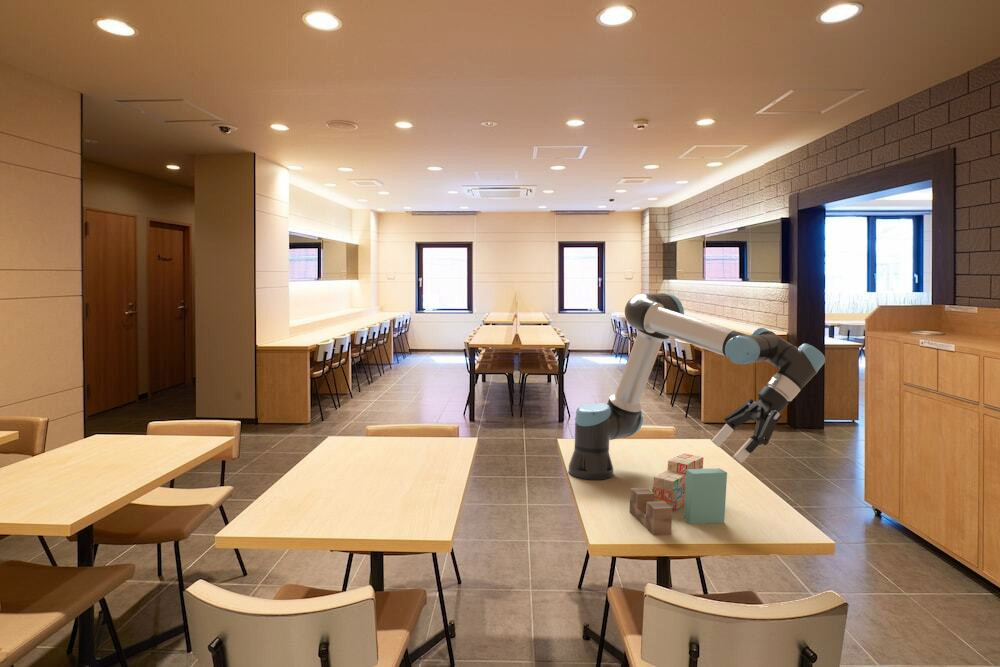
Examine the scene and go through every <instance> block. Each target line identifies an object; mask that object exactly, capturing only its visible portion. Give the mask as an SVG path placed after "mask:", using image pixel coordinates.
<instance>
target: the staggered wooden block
mask: <svg viewBox="0 0 1000 667" xmlns="http://www.w3.org/2000/svg"><path fill="white" fill-rule="evenodd" d="M654 496H655V493H653V490H651V489H649V488H648V487H631V488H630V494H629V513H630V514H631V515H632V516H633V517H634V518H635V519H636V520H637V521H638V522H639V523H640V524H641V525H642V526H643V527H644V526H645V527H646V528H647V529H648V530H647V529H646V528H645V527H644V528H645V529H646V530H647V531H649V533H650V534H651V535H653V536H658V535H659V536H660V535H662V536H663V535H671V534H672V526H673V525H672V524H673V511H672V507H671V506H669V505H668V504H667V503H666V502H664V501H656V502H654Z"/></svg>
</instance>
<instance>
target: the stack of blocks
mask: <svg viewBox="0 0 1000 667" xmlns="http://www.w3.org/2000/svg"><path fill="white" fill-rule="evenodd" d="M686 469H704V457H703V456H699V455H695V454H689V453H682V454H678V455H676V456H675V457H674V456H673V458H670V459H668V460H667V469H666V471H663V472H661V473H658V474H657V475H655V476H653V487H652V492H653V493H655V496H654V502H656V501H664V502H666V503H667V504H668V505H669V506H671V507H672V512H674V511H676V510H678V509H679V508H682V507H684V501H685V482H686Z"/></svg>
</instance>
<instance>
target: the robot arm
mask: <svg viewBox="0 0 1000 667" xmlns="http://www.w3.org/2000/svg"><path fill="white" fill-rule="evenodd" d="M684 309H685V308H684V306H683V304H682V302H681V300H680V299H679V298H678V297H676V296H675V295H673V294H670V293H665V292H661V293H646V292H645V293H638V294H635V295H634V296H632V297H631V298H629V300H628V301H627V302H626V304H625V307H624V317H625V319H626V322H627V323H628V324H629V325H630V326H631V327H633V328H634V329H635V330H636V332H637V334H636V336H635V340H634V342H633V345H632V348H631V351H630V353H629V356H628V359H627V361H626V363H625V364H626V365H625V367H624V370H623V372H622V375H621V378H620V381H619V384H618V387H617V388H616V391H615V393H613V394H611V395H610V396H609V398H608V401H607V403H603V402H593V403H592V402H591V403H584V404H582V405H580V406H578V407H577V409H576V411H575V417H574V422H575V423H574V449H573V450H574V451H573V452H572V456H571V458H570V461H569V463H568V474H570V475H571V476H573V477H575V478H579V479H584V480H589V481H590V480H599V481H600V480H606V479H610V478H612V477H614V465H613V463H612V459H611V455H610V441H612V440H618V439H623V438H627V437H628V438H629V437H631V436H632V435H635V434H636V433H638V432H639V431H640V430H641V428H642V426H643V423H644V417H643V416H642V415H643V412H642V409H643V407H642V405H641V403H640V401H641V398H642V395H643V394H644V391H645V389H646V386H647V383H648V380H649V378H650V375H651V374H652V370H653V367H654V365H655V362H656V360H657V357H658V354H659V353H660V352H659V351H660V350H661V347H662V345H663V342H665V341H667V340H669V339H670V338H673V339H676V340H679V341H681V342H684V343H687V344H690V345H693V346H696V347H699V348H702V349H703V350H706V351H710V352H713V353H715V354H717V355H721V356H724V357H727V358H728V360H730V362H732V363H733V364H736V365H750V364H754V363H764V362H767V363H769V364H770V365H772V366H773V367H775V368H777V369H779V370H778V371H777V372H776V373H775V374H773V376H772V377H771V379H770V380H769V381H768V382H767V385H764V386H763V387H762V388H761V390H760V391H758V393H757V398H758V400H756V401H755V400H754V399H753V398H749V399H748V400H747V401H746V402H745V403H744V404H742V405H741V406H740V407H738V408H737V409H735V410H734V411H732V412H731V413H729V414H728V415H726V416H725V417H724V419H723V420H724V421H725V424H724V425H723V427H722V428H720V430H719V431H718V432H717V433H716V434H715V435H714V437H713V438H712V439H711V440H710V442H712V443H713V444H714V445H715V446H716V447H718V448H720V446H722V444H723V443H724V442H725V441H726V440H727V439H728V437H729V436H730V435H731V434H732V433H733V432H734V431H735V429H736V427H738V426H741V425H743V424H744V423H747V422H749V421H756V422H755V423H756V424H755V427H754V431H753V435H751V436H750V437H749V438H748V439H747V440H746V441H745V442H744V444H743V445H741V446H740V448H739V449H737V451H736V452H735V454H734V455H733V458H734V459H736V460H737V461H738V462H739V463H741V464H743V463H744V461H745V460H747V458H748V457H749V456H750V454H752V453H753V452H754V451H755V450H756V448H758V447H759V446H761V445H763V446H767V445H768V444H769V442H770V439H771V437H772V435H773V433H774V430H775V428H776V426H777V424H778V422H779V421H780V420H781V418H782V417H783V416H782V414H781V413H782V412H783V411H784V410H785V409H786V407H788V405H789V402H792V401H793V399H795V398H796V397H797V396H798V394H799V393H800V392H801V390H803V388H804V387H805V386H806V385H807V384H808V383H809V382H810V381H811V380H812V379H813V377H814V376H816V375H817V373H818V372H819V370H820V369H821V368H822V366H823V365H824V364H825V363H826V356H825V355H824V353H823V352H821V351H820V350H819V349H818V348H816V347H815V346H813V345H811V344H809V343H802V344H801V345H799V346H798V347H797V346H796V345H794V344H792V343H790V342H788V341H787V340H785V339H784V338H782V337H781V336H779V335H777V334H776V333H775V331H774V332H773V331H772V330H769V329H767V328H765V327H759V328H757V329H755V330H753V331H752V332H751V333H750V334H747V333H744V332H740V331H736V330H734V329H731V328H727V327H724V326H720V325H718V324H715V323H712V322H709V321H705V320H702V319H700V318H696V317H694V316H689V315H686V314H685V310H684Z"/></svg>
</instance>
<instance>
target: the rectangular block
mask: <svg viewBox="0 0 1000 667" xmlns="http://www.w3.org/2000/svg"><path fill="white" fill-rule="evenodd" d="M727 479H728V472H727V471H725V470H723V469H722V468H720V467H719V468H718V467H717V468H715V467H714V468H703V469H686V482H685V501H684V505H683V519H684V520H685V521H686V522H688V524H690V525H694V524H695V525H696V524H698V525H699V524H715V523H719V524H720V523H722V524H723V523H725V516H726V515H725V514H726V498H727V482H728V480H727Z"/></svg>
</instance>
